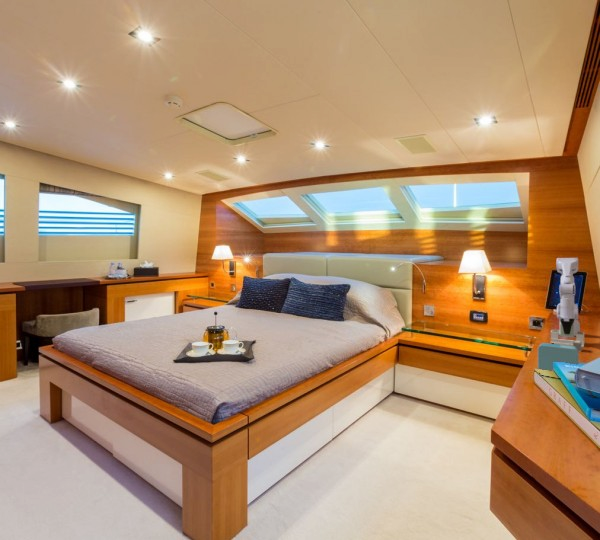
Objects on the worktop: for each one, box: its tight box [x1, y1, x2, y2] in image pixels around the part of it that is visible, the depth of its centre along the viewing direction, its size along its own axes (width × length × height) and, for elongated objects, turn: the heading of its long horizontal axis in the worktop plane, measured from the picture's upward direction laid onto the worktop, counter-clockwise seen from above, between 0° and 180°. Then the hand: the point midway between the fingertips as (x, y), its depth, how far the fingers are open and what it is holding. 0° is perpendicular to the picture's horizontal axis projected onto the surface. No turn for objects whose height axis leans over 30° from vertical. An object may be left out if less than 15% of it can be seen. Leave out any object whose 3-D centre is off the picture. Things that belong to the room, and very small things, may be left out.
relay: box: [573, 340, 583, 352], centre depth 170 cm, size 5×3×4 cm, turn 140°
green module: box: [559, 323, 575, 339], centre depth 183 cm, size 4×6×7 cm
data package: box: [537, 342, 580, 371], centre depth 133 cm, size 12×4×12 cm, turn 48°
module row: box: [550, 329, 585, 348], centre depth 183 cm, size 10×14×6 cm
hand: (567, 333), depth 183 cm, fingers closed on green module, 4 cm apart
